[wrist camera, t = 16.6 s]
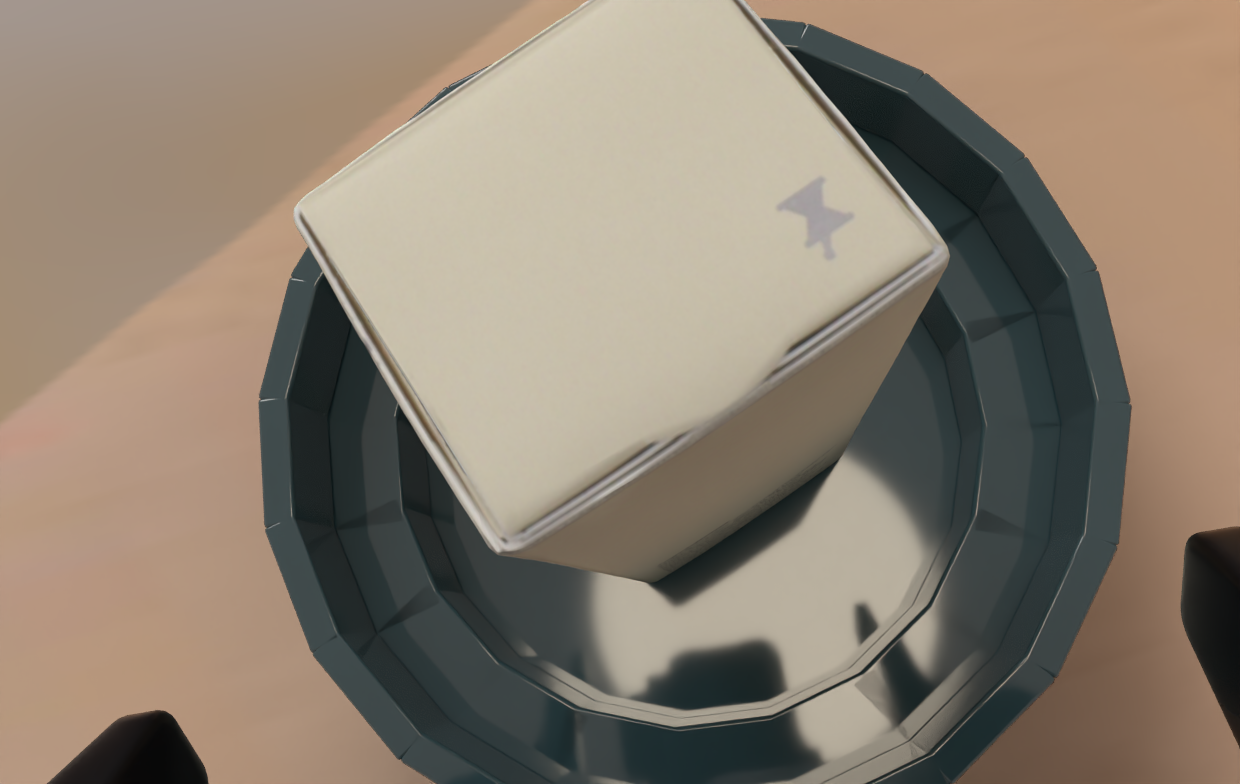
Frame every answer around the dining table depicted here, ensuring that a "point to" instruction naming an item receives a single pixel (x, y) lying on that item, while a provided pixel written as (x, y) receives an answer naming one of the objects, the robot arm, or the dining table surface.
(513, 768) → the bowl
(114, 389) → the dining table surface
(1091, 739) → the dining table surface
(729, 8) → the box
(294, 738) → the dining table surface
